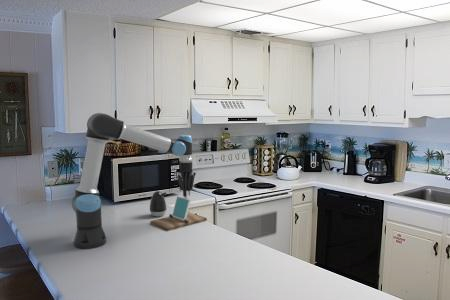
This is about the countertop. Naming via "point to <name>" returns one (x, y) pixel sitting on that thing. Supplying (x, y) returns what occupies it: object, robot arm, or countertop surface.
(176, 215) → the tile
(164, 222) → the walnut board
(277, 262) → the countertop surface
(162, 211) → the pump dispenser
